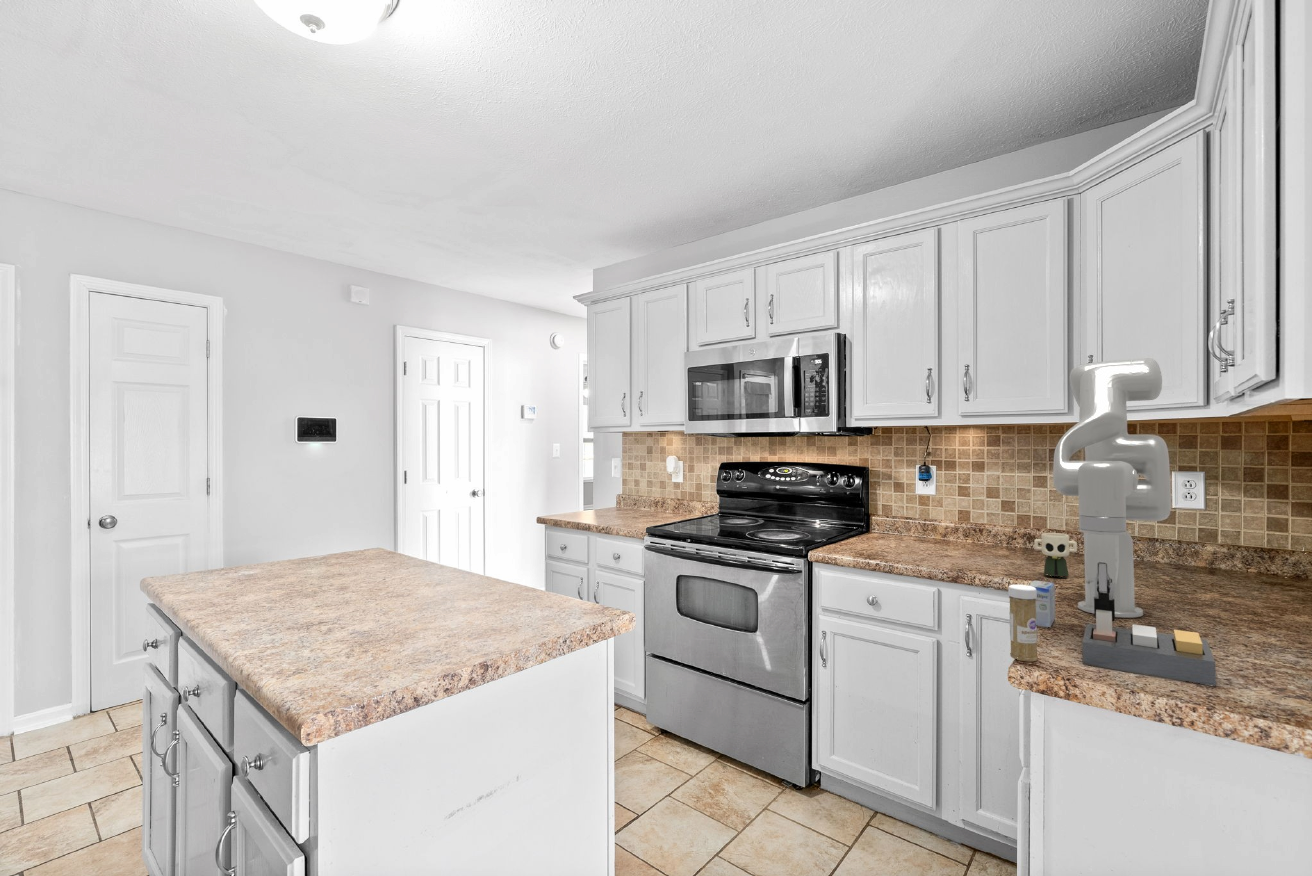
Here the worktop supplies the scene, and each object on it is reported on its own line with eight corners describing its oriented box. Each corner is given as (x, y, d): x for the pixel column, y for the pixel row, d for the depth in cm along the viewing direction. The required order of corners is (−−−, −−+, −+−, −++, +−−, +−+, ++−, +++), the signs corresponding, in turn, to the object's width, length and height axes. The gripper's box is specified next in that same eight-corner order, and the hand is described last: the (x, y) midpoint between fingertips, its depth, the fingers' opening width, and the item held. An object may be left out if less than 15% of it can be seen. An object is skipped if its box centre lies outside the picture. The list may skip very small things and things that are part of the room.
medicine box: (1033, 617, 144) (1032, 579, 144) (1055, 620, 141) (1054, 582, 142) (1027, 624, 138) (1026, 585, 138) (1051, 628, 135) (1050, 588, 135)
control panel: (1087, 643, 124) (1086, 623, 124) (1206, 661, 113) (1206, 639, 113) (1082, 664, 112) (1082, 642, 112) (1216, 686, 101) (1215, 661, 102)
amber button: (1173, 639, 114) (1173, 629, 114) (1198, 642, 111) (1198, 632, 112) (1176, 650, 107) (1176, 640, 107) (1202, 654, 105) (1202, 643, 105)
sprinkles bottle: (1030, 664, 113) (1028, 590, 113) (1005, 657, 117) (1003, 585, 117) (1042, 659, 115) (1041, 586, 116) (1017, 652, 119) (1015, 582, 119)
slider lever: (1094, 633, 121) (1093, 607, 121) (1115, 636, 119) (1115, 610, 119) (1093, 638, 118) (1092, 612, 118) (1115, 641, 116) (1114, 615, 116)
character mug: (1034, 577, 188) (1033, 534, 189) (1035, 573, 194) (1034, 531, 195) (1078, 580, 183) (1077, 536, 183) (1077, 576, 189) (1076, 534, 189)
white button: (1132, 633, 117) (1132, 624, 117) (1155, 636, 115) (1155, 627, 115) (1132, 644, 111) (1132, 634, 111) (1157, 648, 109) (1157, 637, 109)
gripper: (1081, 520, 130) (1083, 608, 129) (1076, 527, 118) (1079, 624, 117) (1126, 522, 125) (1128, 614, 125) (1126, 530, 113) (1128, 631, 113)
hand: (1104, 619), depth 121 cm, fingers closed
